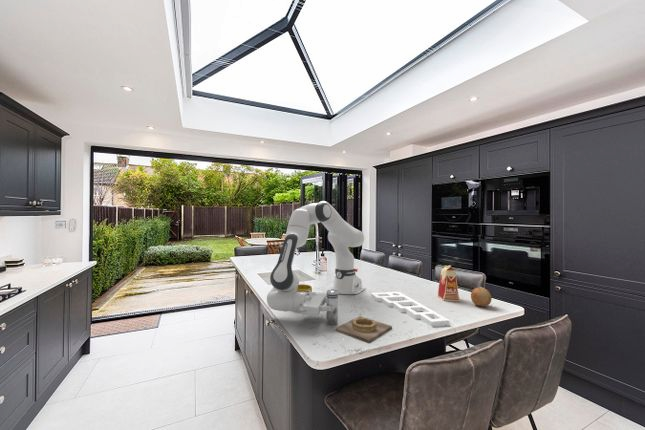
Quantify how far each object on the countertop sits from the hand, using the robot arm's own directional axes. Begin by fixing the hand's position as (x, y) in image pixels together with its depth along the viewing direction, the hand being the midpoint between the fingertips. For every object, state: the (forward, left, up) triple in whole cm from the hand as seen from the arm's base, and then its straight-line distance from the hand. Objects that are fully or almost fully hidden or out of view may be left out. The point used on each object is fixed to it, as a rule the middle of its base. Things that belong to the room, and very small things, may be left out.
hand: (333, 304), depth 121 cm
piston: (0, 0, -8) cm, 8 cm away
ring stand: (-4, +14, -8) cm, 16 cm away
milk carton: (-74, +26, -8) cm, 79 cm away
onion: (-73, +43, -8) cm, 85 cm away
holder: (-39, +15, -9) cm, 43 cm away
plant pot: (-7, -26, -8) cm, 28 cm away
